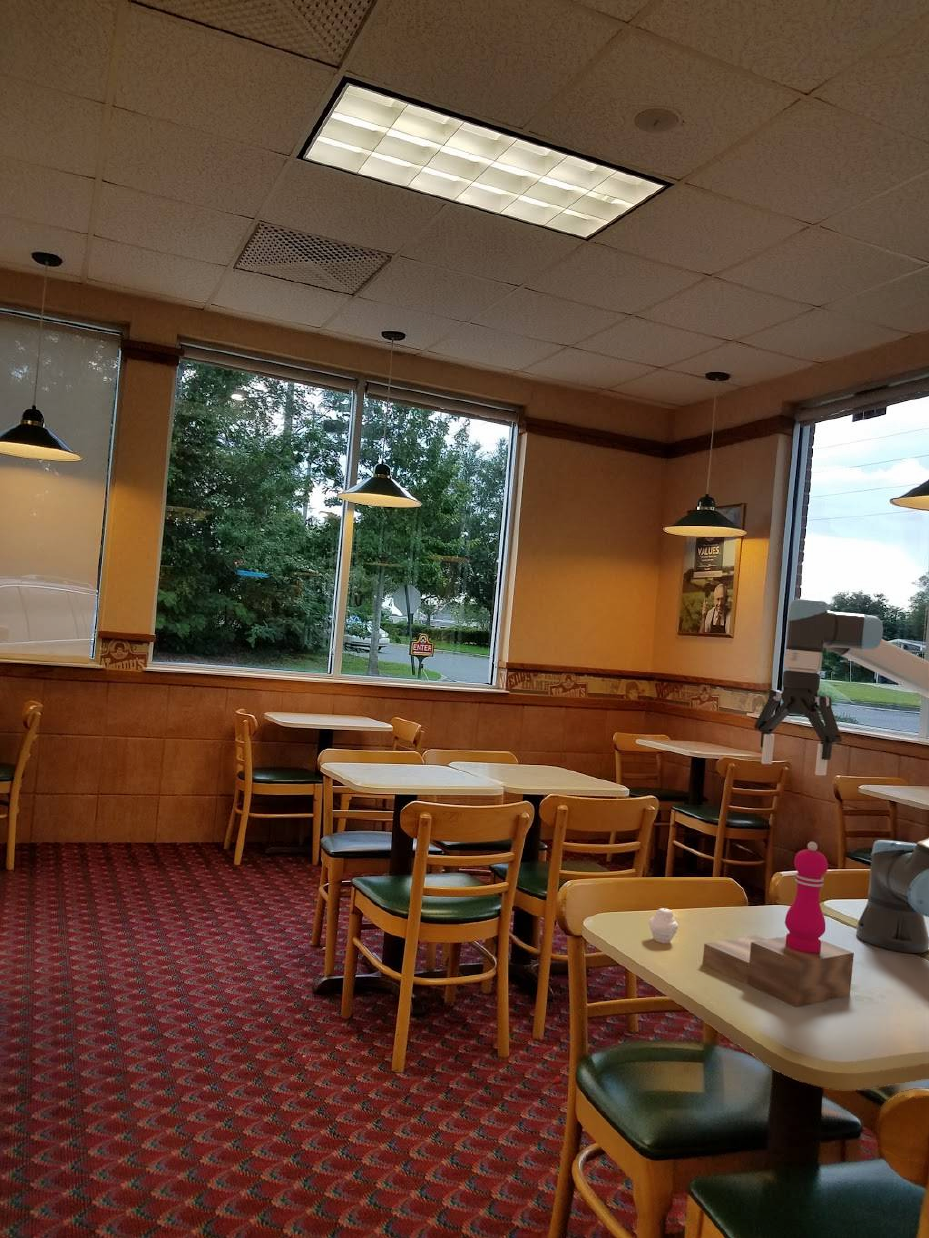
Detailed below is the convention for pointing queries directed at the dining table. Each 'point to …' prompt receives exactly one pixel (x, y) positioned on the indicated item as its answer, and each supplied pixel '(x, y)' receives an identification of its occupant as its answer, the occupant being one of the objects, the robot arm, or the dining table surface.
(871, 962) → the dining table surface
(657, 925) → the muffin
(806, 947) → the pepper mill
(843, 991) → the step stand
